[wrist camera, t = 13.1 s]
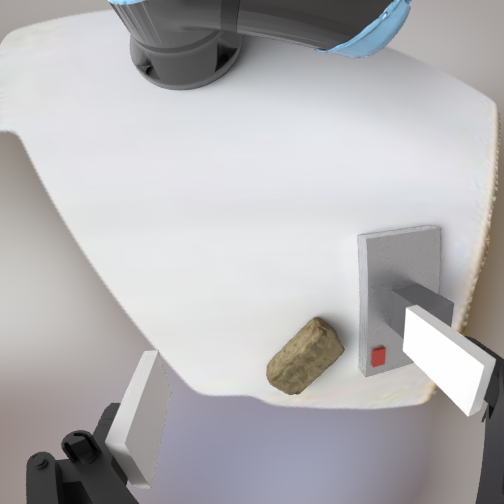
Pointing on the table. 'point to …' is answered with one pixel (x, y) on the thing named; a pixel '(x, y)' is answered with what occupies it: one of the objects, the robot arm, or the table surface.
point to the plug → (419, 297)
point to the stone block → (304, 357)
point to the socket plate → (391, 289)
